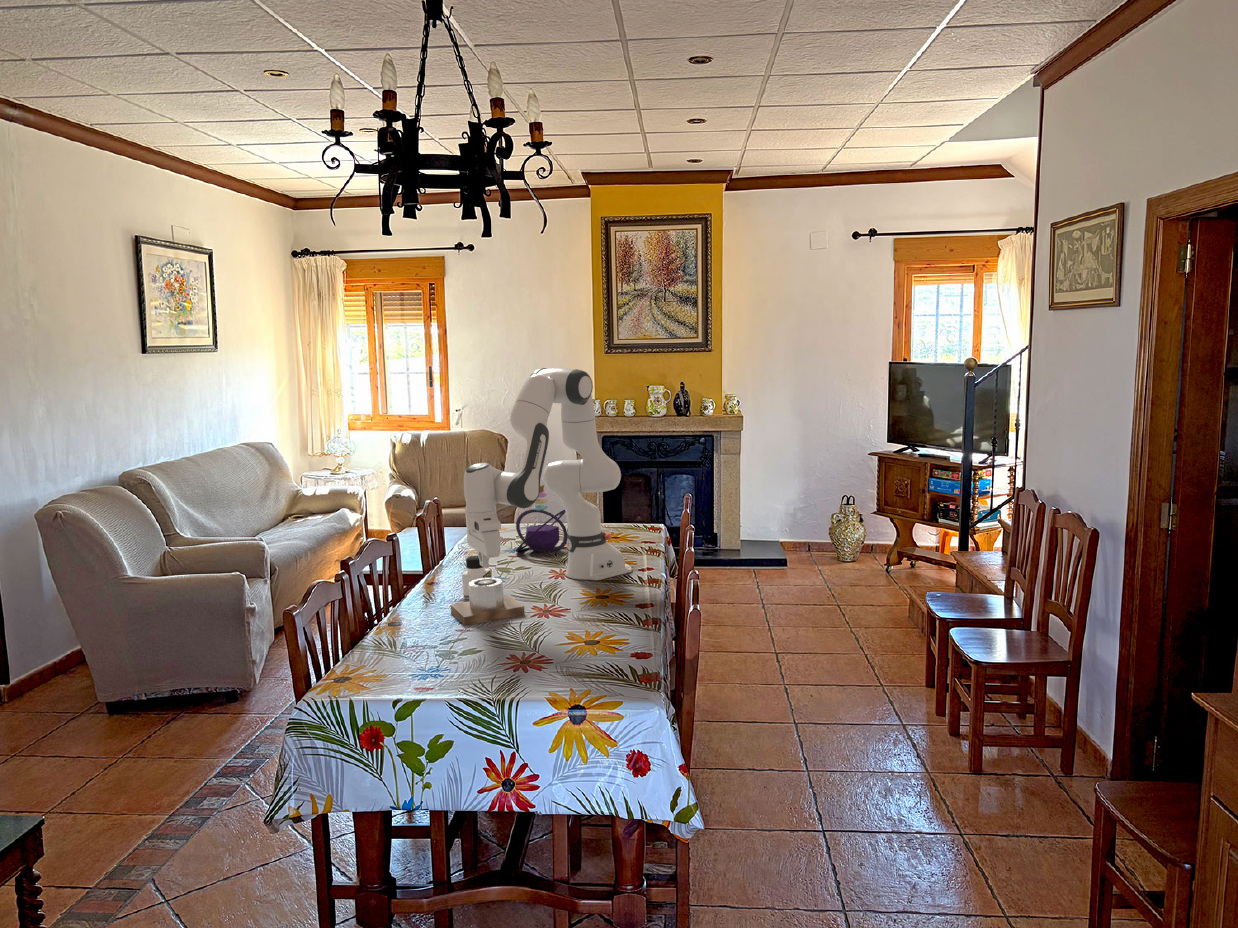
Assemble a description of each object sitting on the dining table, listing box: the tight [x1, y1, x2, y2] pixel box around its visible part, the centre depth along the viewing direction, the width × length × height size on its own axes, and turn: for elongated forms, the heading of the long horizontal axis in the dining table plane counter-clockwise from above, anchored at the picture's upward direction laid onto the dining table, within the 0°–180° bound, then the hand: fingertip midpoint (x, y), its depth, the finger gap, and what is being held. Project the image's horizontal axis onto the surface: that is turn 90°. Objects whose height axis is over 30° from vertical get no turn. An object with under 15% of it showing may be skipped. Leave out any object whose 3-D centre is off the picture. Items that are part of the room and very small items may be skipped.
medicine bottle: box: [461, 554, 492, 597], centre depth 280 cm, size 7×7×12 cm
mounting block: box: [450, 594, 526, 627], centre depth 259 cm, size 18×14×2 cm
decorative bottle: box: [515, 484, 568, 554], centre depth 331 cm, size 22×21×25 cm
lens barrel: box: [468, 577, 504, 611], centre depth 259 cm, size 10×10×7 cm
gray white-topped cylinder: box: [477, 580, 494, 586], centre depth 258 cm, size 5×5×6 cm
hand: (484, 566), depth 257 cm, fingers closed
